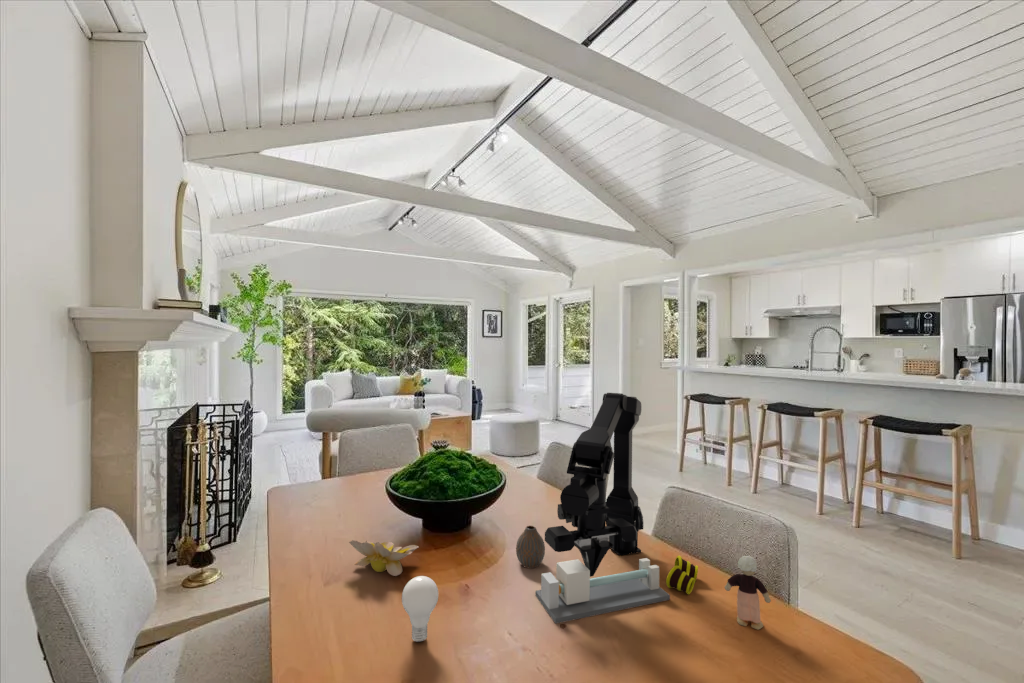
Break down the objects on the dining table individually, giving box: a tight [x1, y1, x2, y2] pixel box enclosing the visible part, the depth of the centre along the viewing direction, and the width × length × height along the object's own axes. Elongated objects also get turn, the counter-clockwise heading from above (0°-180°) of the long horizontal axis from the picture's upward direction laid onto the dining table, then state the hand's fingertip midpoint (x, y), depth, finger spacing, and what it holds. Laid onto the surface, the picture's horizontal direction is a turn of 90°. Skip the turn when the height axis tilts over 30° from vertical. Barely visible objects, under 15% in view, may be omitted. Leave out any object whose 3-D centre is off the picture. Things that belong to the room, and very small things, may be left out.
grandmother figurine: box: [724, 555, 772, 630], centre depth 87 cm, size 8×4×13 cm, turn 71°
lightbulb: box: [401, 575, 439, 643], centre depth 80 cm, size 6×6×11 cm
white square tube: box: [555, 558, 591, 605], centre depth 92 cm, size 5×5×6 cm
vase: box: [515, 525, 546, 569], centre depth 109 cm, size 7×7×9 cm
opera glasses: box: [665, 555, 699, 595], centre depth 101 cm, size 10×5×5 cm, turn 149°
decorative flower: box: [348, 539, 419, 577], centre depth 106 cm, size 15×11×10 cm
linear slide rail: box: [535, 557, 671, 624], centre depth 95 cm, size 26×10×6 cm, turn 109°
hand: (590, 575), depth 94 cm, fingers closed
